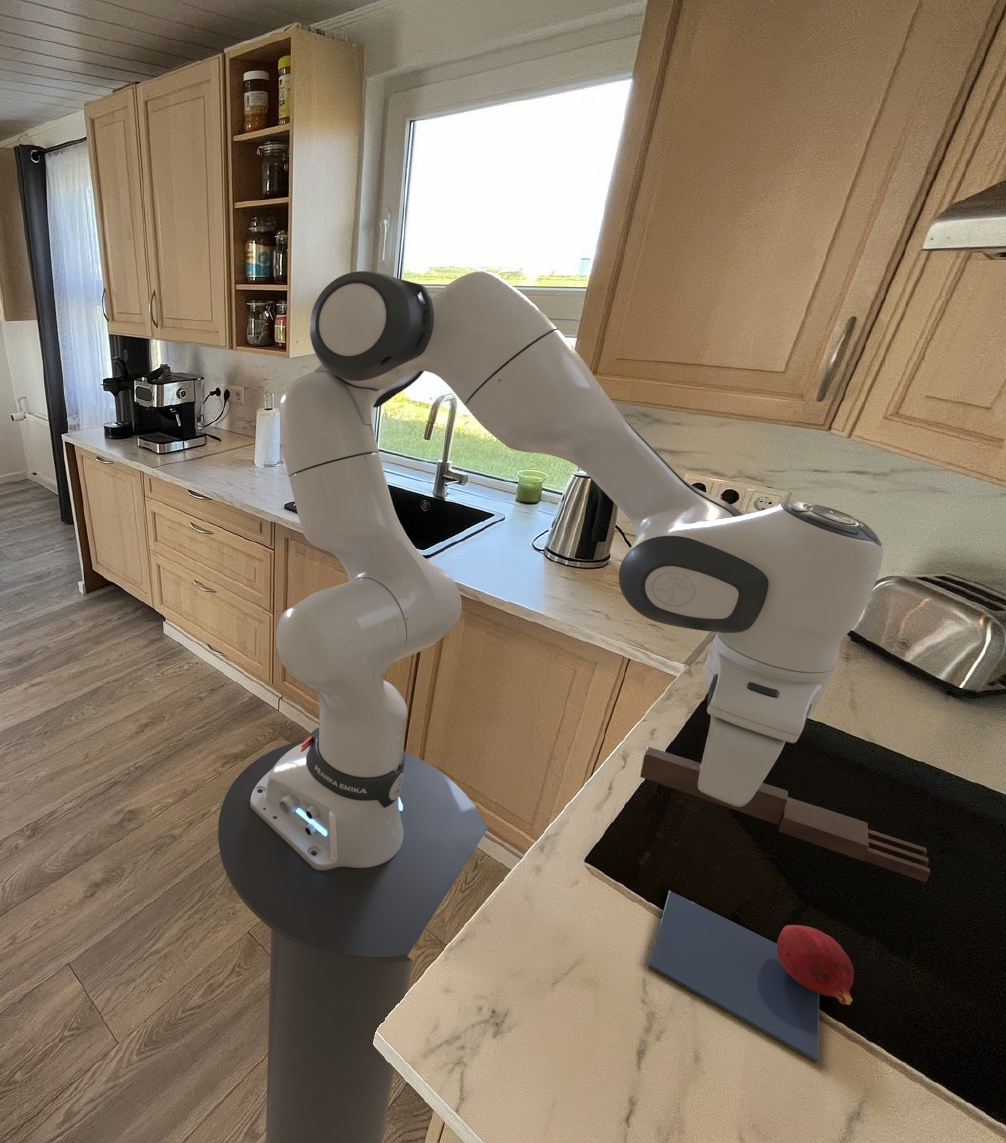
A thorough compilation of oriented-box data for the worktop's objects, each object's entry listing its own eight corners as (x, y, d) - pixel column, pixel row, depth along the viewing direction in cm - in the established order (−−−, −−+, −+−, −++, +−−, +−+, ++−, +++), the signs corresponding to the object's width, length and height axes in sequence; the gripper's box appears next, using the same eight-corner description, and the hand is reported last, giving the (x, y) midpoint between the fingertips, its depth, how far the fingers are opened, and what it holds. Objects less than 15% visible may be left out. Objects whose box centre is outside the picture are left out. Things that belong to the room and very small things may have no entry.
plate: (648, 967, 67) (649, 964, 67) (668, 893, 75) (669, 890, 75) (816, 1062, 59) (818, 1059, 59) (818, 967, 67) (819, 964, 67)
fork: (638, 782, 68) (642, 758, 67) (644, 764, 71) (649, 741, 70) (925, 883, 54) (938, 856, 53) (922, 857, 57) (933, 830, 56)
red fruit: (748, 923, 68) (806, 998, 61) (801, 900, 66) (867, 974, 59) (772, 951, 70) (830, 1027, 62) (824, 929, 68) (890, 1005, 60)
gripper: (734, 620, 68) (694, 721, 74) (709, 708, 54) (662, 823, 60) (808, 640, 64) (760, 745, 70) (802, 740, 50) (742, 860, 56)
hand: (715, 782), depth 65 cm, fingers closed on fork, 2 cm apart
